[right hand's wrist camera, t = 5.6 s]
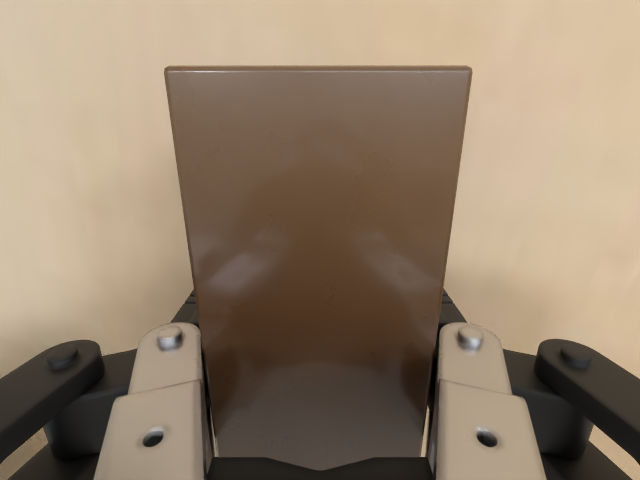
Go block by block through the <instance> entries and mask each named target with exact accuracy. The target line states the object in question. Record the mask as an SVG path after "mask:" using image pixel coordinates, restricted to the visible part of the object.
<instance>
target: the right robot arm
mask: <svg viewBox="0 0 640 480" xmlns="http://www.w3.org/2000/svg"><path fill="white" fill-rule="evenodd" d="M427 405H428V408H429V415H428V426H427V439H426V453H425V457H373V458H369V459H366V460H362V461H358V462H354V463H350V464H346V465H342V466H338V467H334V468H331V469H327V470H313V469H309V468H306V467H302V466H298V465H294V464H290V463H286V462H282V461H278V460H274V459H271V458H267V457H215V454H214V440H213V426H212V415H211V408H210V400H209V393H208V385H207V378H206V371H205V364H204V357H203V349H202V342H201V335H200V328H199V321H198V313H197V306H196V299H195V292H194V290H193V291H192V293H191V294H190V297H188V298H187V300H186V301H185V304H183V306H182V307H181V308H180V310H179V311H178V313H177V314H176V315H175V317H174V318H173V320H172V321H171V323H170V324H166V325H162V326H160V327H157V328H155V329H153V330H151V331H150V332H148V333H147V334H145V335H144V336H143V337H142V339H141V340H140V342H139V345H138V348H137V349H134V350H130V351H126V352H121V353H115V354H110V355H105V356H102V354H101V350H100V347H99V345H98V344H97V343H96V342H94V341H90V340H76V341H70V342H66V343H62V344H59V345H56V346H54V347H52V348H49V349H47V350H45V351H44V352H42V353H40V354H39V355H37V356H35V357H34V358H32V359H31V360H29V361H28V362H26V363H25V364H23V365H21V366H20V367H18V368H17V369H15V370H14V371H12V372H11V373H9V374H7V375H6V376H4V377H3V378H1V379H0V464H1V463H2V462H3V460H4V459H5V458H7V457H8V456H9V455H10V454H11V453H12V452H14V451H15V450H16V449H17V448H18V447H20V446H21V445H22V444H23V443H24V442H25V441H27V440H28V439H29V438H30V437H31V436H33V435H34V434H35V433H36V432H37V431H39V430H40V429H41V428H42V427H43V429H44V431H45V434H46V437H47V440H48V444H47V445H46V446H45V447H43V448H42V449H41V450H40V451H39V452H38V453H37V454H36V455H35V456H33V457H32V458H31V459H30V460H29V461H28V462H27V463H26V464H25V465H23V466H22V467H21V468H20V469H19V470H18V471H17V472H16V473H15V474H13V475H12V476H11V477H10V478H9V479H8V480H632V479H631V478H630V477H629V476H628V475H627V474H625V473H624V472H623V471H622V470H621V469H620V468H619V467H618V466H617V465H615V464H614V463H613V462H612V461H611V460H610V459H609V458H608V457H607V456H605V455H604V454H603V453H602V452H601V451H600V450H599V449H598V448H596V447H595V446H594V445H593V444H592V443H591V442H590V441H589V437H590V434H591V431H592V428H593V426H594V425H596V426H597V427H598V428H599V429H600V430H601V431H603V432H604V433H605V434H606V435H607V436H609V437H610V438H611V439H612V440H613V441H615V442H616V443H617V444H618V445H619V446H620V447H622V448H623V449H624V450H625V451H626V452H628V453H629V454H630V455H631V456H632V457H633V458H634V459H635V460H636V461H637V462H638V464H639V465H640V379H639V378H637V377H636V376H634V375H633V374H631V373H629V372H628V371H626V370H625V369H623V368H622V367H620V366H619V365H617V364H615V363H614V362H612V361H611V360H609V359H608V358H606V357H605V356H603V355H601V354H600V353H598V352H597V351H595V350H593V349H591V348H589V347H587V346H584V345H582V344H579V343H576V342H572V341H568V340H562V339H549V340H545V341H543V342H541V343H540V345H539V348H538V352H537V355H536V356H535V355H530V354H524V353H519V352H514V351H509V350H505V349H502V345H501V342H500V340H499V339H498V337H497V336H496V335H494V334H493V333H492V332H490V331H489V330H487V329H485V328H483V327H480V326H478V325H474V324H470V323H467V322H466V320H465V319H464V317H463V316H462V314H461V313H460V311H459V310H458V309H457V307H456V306H455V304H453V301H452V300H451V298H450V297H449V296H448V294H447V293H446V291H445V290H444V288H443V293H442V301H441V308H440V315H439V323H438V330H437V338H436V345H435V352H434V360H433V367H432V375H431V382H430V389H429V397H428V404H427Z"/></svg>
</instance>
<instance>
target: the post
mask: <svg viewBox="0 0 640 480" xmlns="http://www.w3.org/2000/svg"><path fill="white" fill-rule="evenodd" d="M164 76H165V83H166V90H167V97H168V105H169V112H170V119H171V126H172V133H173V141H174V148H175V155H176V162H177V169H178V177H179V184H180V191H181V198H182V205H183V213H184V220H185V227H186V234H187V241H188V249H189V256H190V263H191V270H192V277H193V285H194V292H195V299H196V306H197V313H198V321H199V328H200V335H201V342H202V349H203V357H204V364H205V371H206V378H207V385H208V393H209V400H210V407H211V414H212V421H213V429H214V436H215V443H216V450H217V457H267V458H271V459H274V460H278V461H282V462H286V463H290V464H294V465H298V466H302V467H306V468H309V469H313V470H327V469H331V468H334V467H338V466H342V465H346V464H350V463H354V462H358V461H362V460H366V459H369V458H373V457H420V456H421V449H422V441H423V434H424V426H425V419H426V412H427V404H428V397H429V389H430V382H431V375H432V367H433V360H434V352H435V345H436V338H437V330H438V323H439V315H440V308H441V301H442V293H443V286H444V278H445V271H446V264H447V256H448V249H449V241H450V234H451V227H452V219H453V212H454V204H455V197H456V190H457V182H458V175H459V167H460V160H461V153H462V145H463V138H464V130H465V123H466V116H467V108H468V101H469V93H470V86H471V79H472V68H471V67H468V66H168V67H166V68H165V70H164Z"/></svg>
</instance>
